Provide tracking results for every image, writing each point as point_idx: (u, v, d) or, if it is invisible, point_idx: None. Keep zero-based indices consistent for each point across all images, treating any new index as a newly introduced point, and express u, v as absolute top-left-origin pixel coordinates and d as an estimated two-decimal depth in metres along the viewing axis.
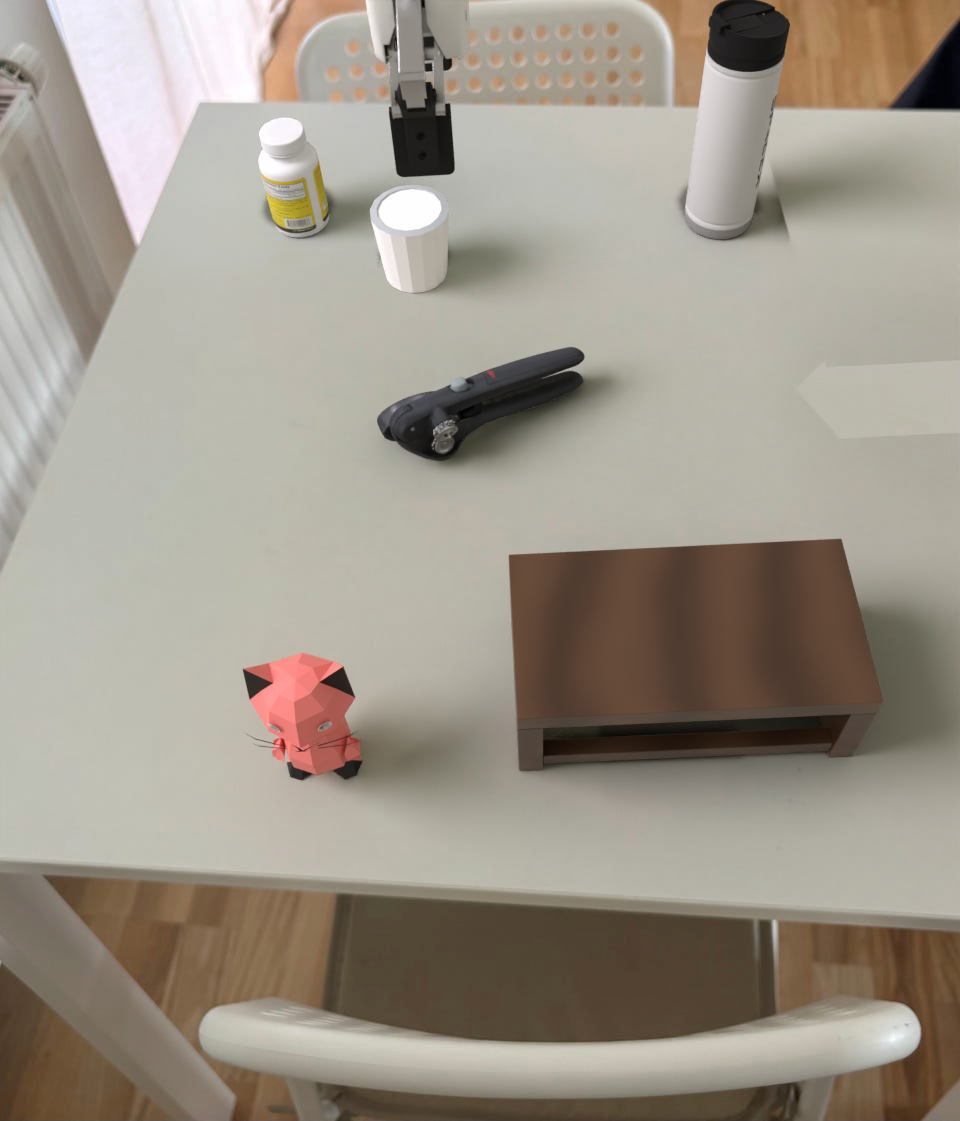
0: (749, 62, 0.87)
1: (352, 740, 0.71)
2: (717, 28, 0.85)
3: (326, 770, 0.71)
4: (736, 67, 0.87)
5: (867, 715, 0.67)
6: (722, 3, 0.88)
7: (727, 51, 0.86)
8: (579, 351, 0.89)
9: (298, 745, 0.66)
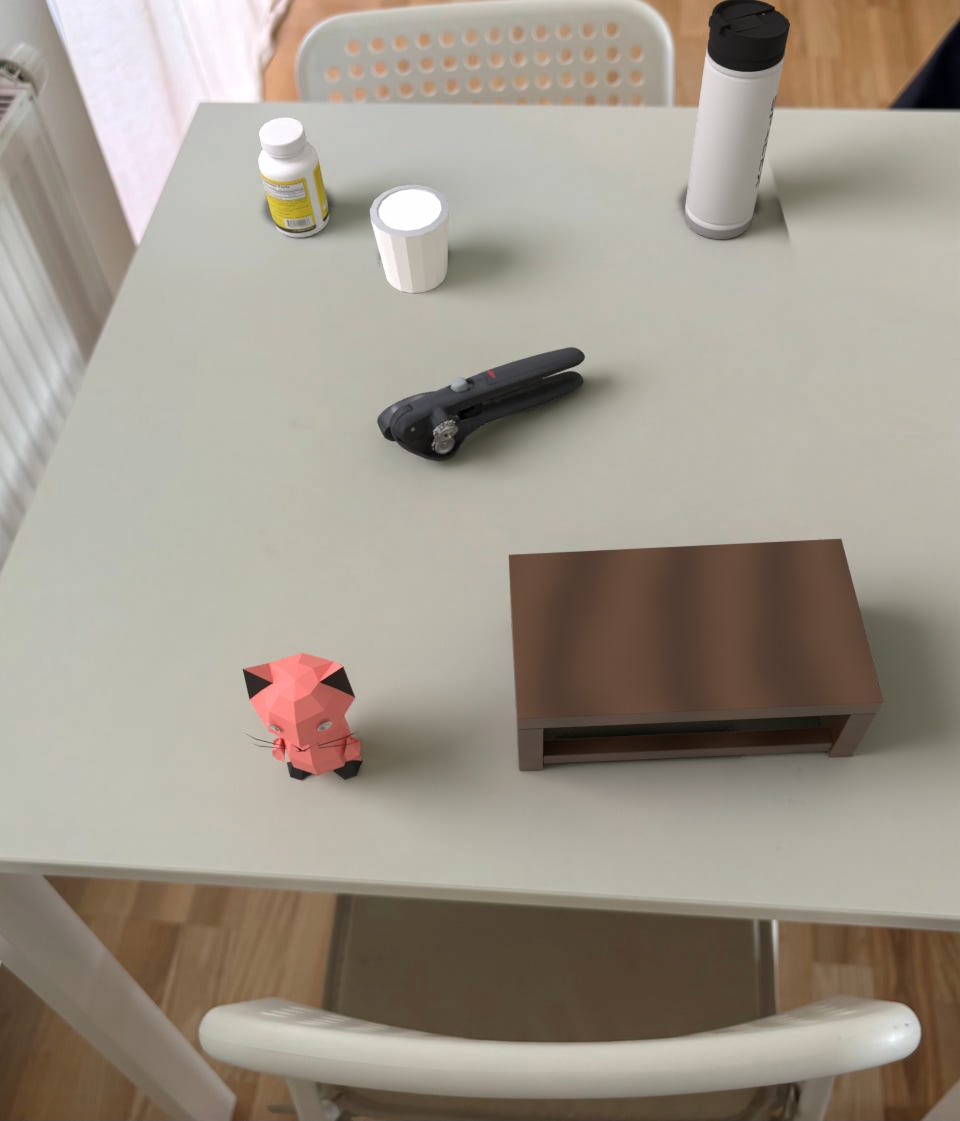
0: (749, 62, 0.87)
1: (352, 740, 0.71)
2: (717, 28, 0.85)
3: (326, 770, 0.71)
4: (736, 67, 0.87)
5: (867, 715, 0.67)
6: (722, 3, 0.88)
7: (727, 51, 0.86)
8: (579, 351, 0.89)
9: (298, 745, 0.66)
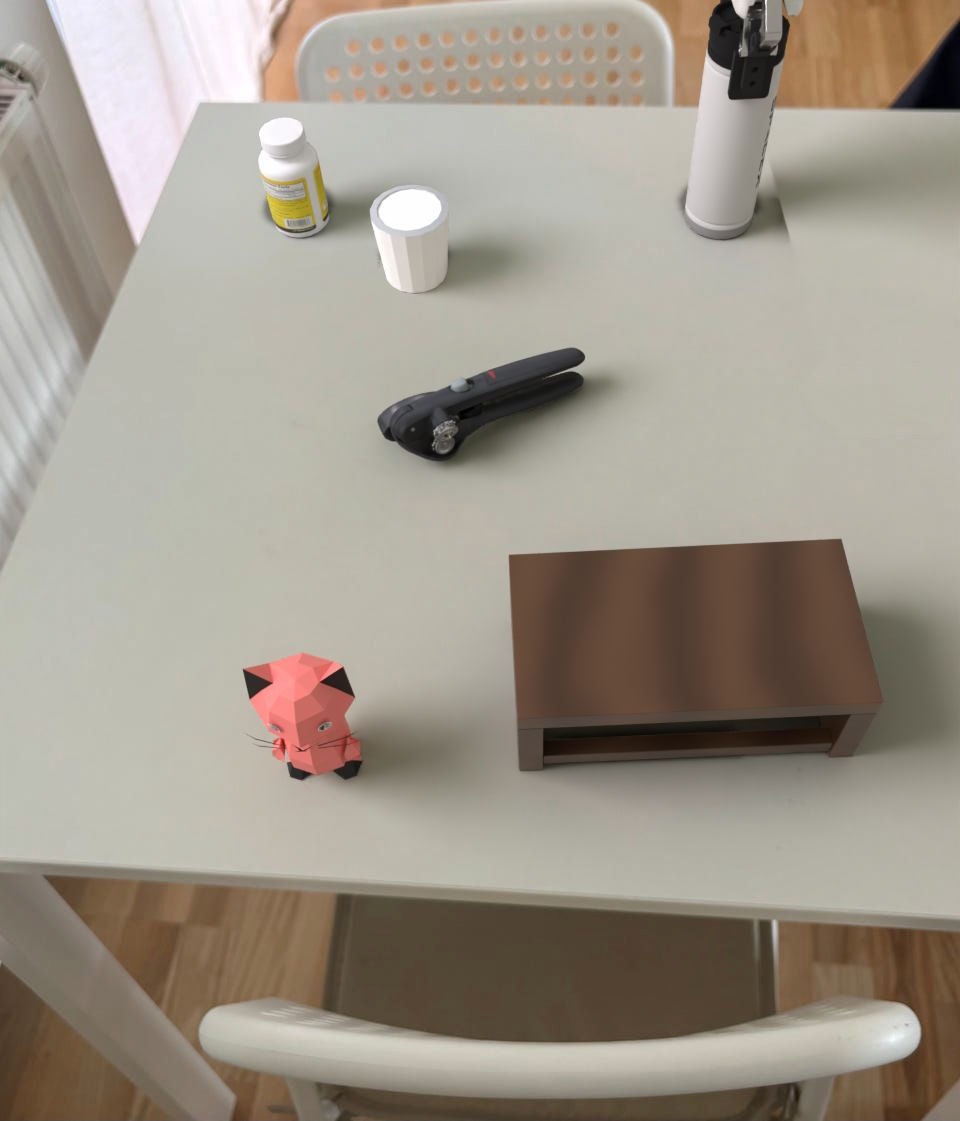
0: None
1: (352, 740, 0.71)
2: (717, 29, 0.85)
3: (326, 770, 0.71)
4: None
5: (867, 715, 0.67)
6: (722, 3, 0.88)
7: (727, 52, 0.86)
8: (580, 352, 0.89)
9: (298, 745, 0.66)
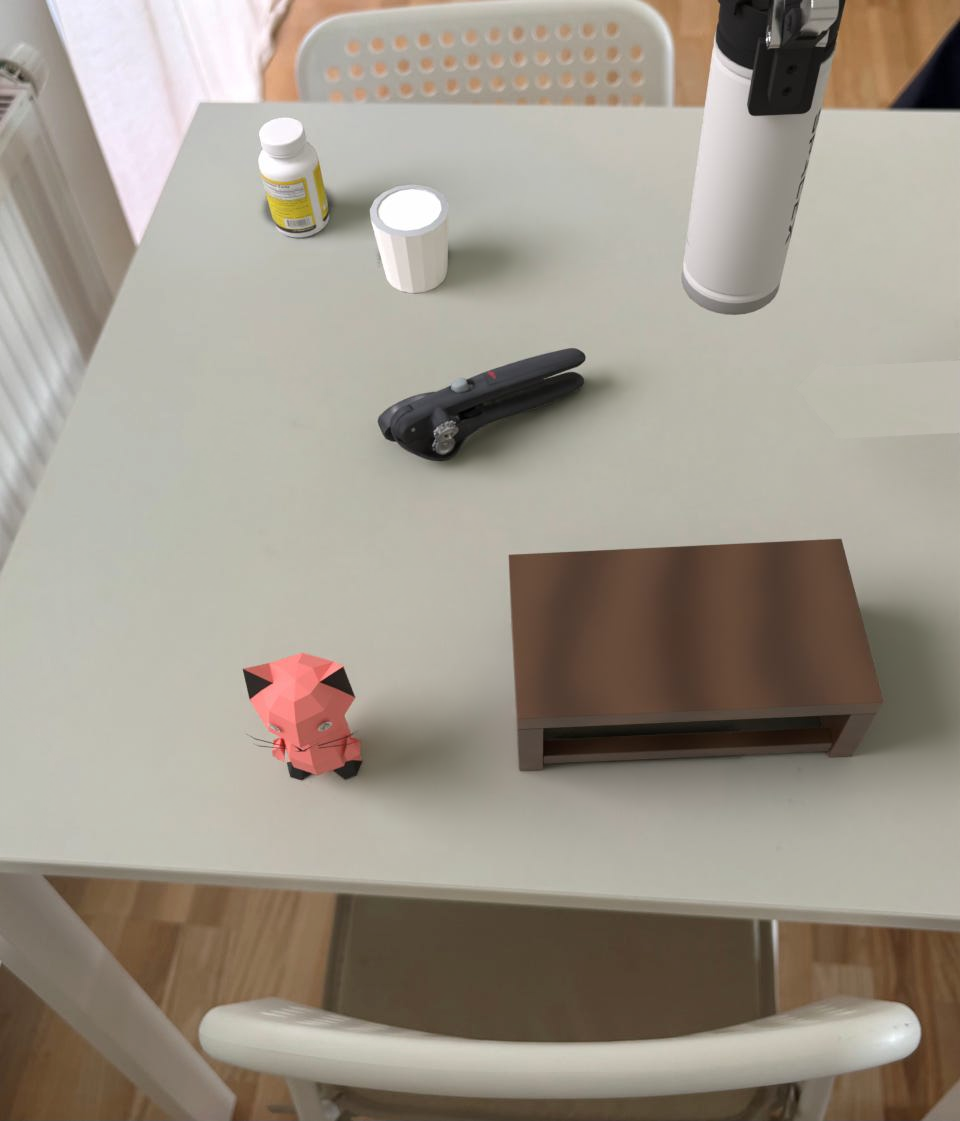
0: None
1: (352, 740, 0.71)
2: (731, 4, 0.54)
3: (326, 770, 0.71)
4: None
5: (867, 715, 0.67)
6: None
7: (746, 41, 0.55)
8: (580, 352, 0.89)
9: (298, 745, 0.66)
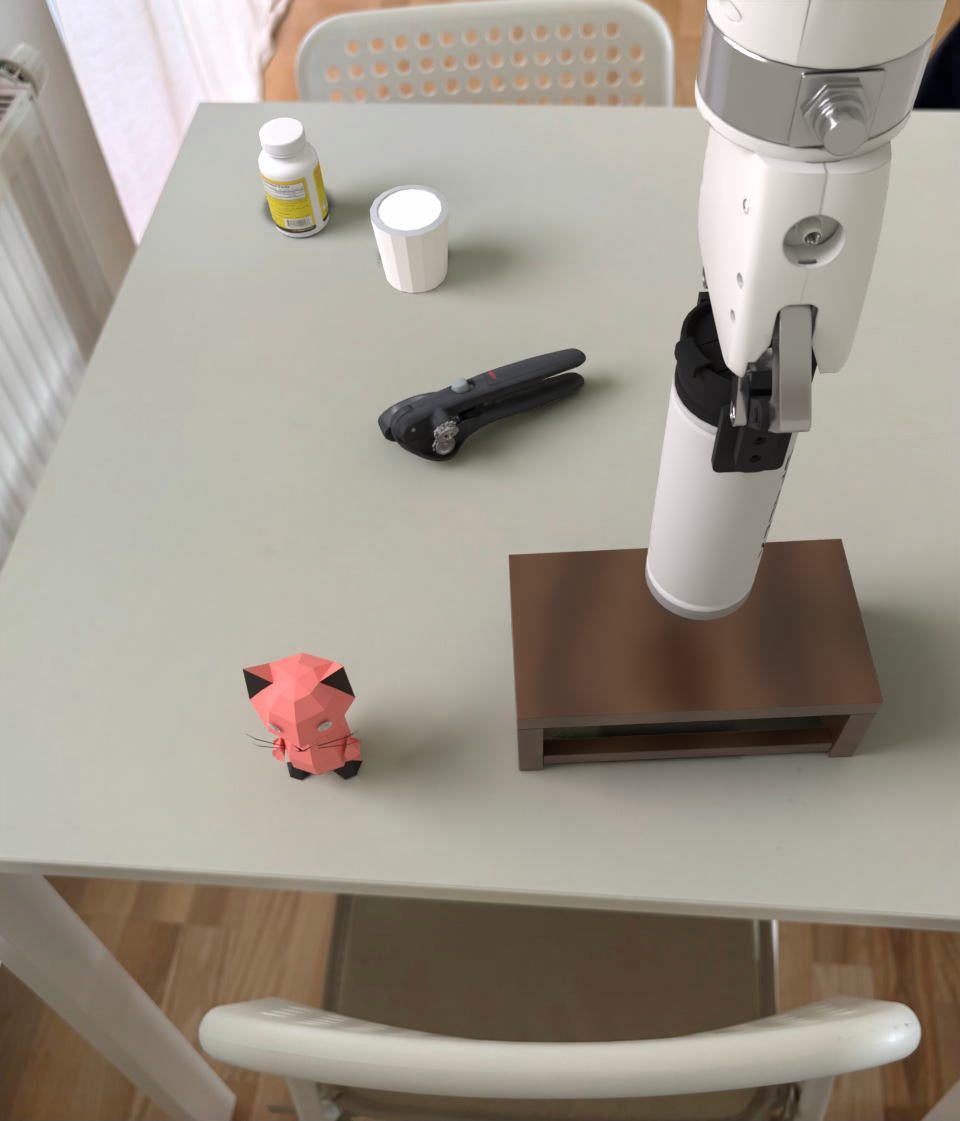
0: None
1: (352, 740, 0.71)
2: (689, 368, 0.48)
3: (326, 770, 0.71)
4: None
5: (867, 715, 0.67)
6: (699, 308, 0.50)
7: (707, 402, 0.49)
8: (580, 352, 0.89)
9: (298, 745, 0.66)
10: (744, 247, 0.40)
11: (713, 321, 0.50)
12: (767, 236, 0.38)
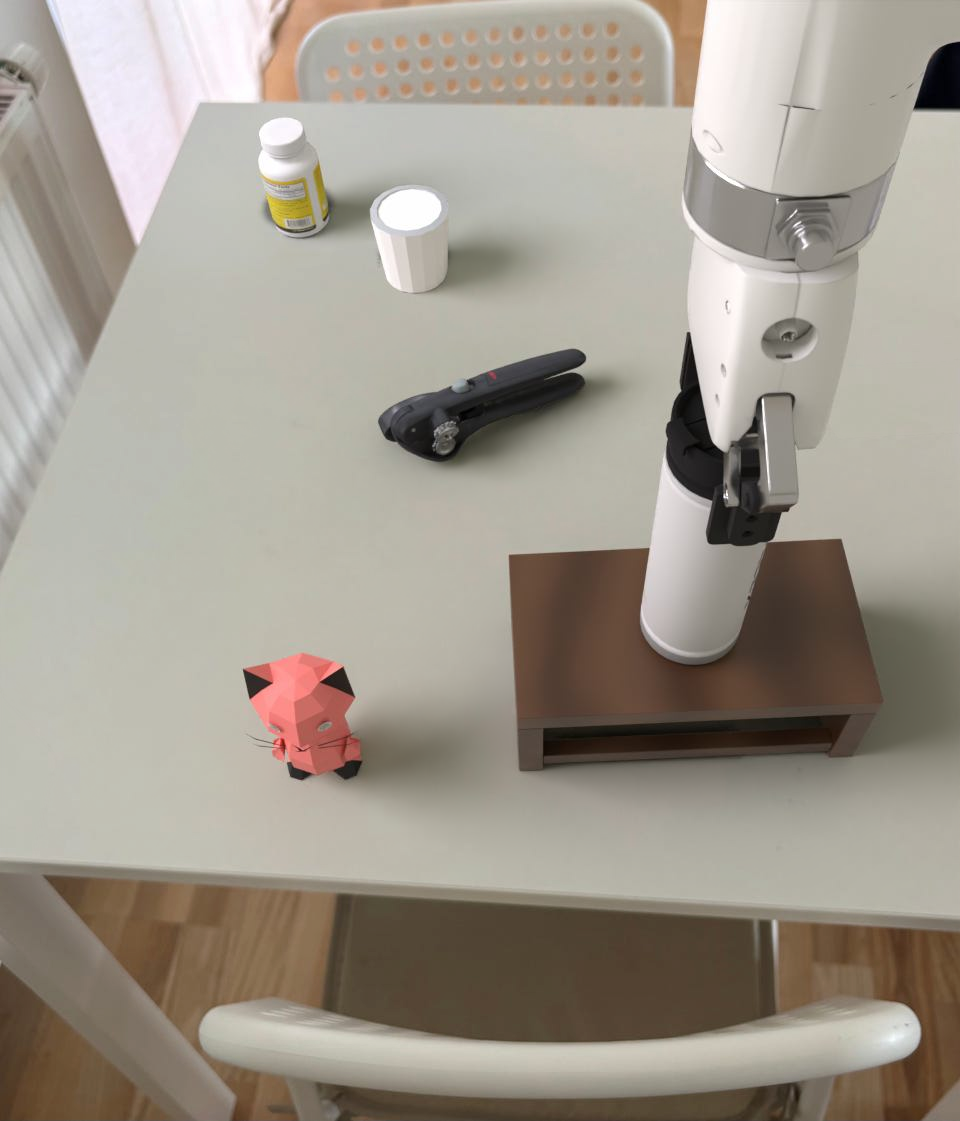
0: None
1: (352, 740, 0.71)
2: (679, 446, 0.52)
3: (326, 770, 0.71)
4: (711, 497, 0.54)
5: (867, 715, 0.67)
6: (689, 388, 0.55)
7: (696, 476, 0.53)
8: (581, 353, 0.89)
9: (298, 745, 0.66)
10: (727, 342, 0.43)
11: (701, 401, 0.55)
12: (747, 335, 0.42)
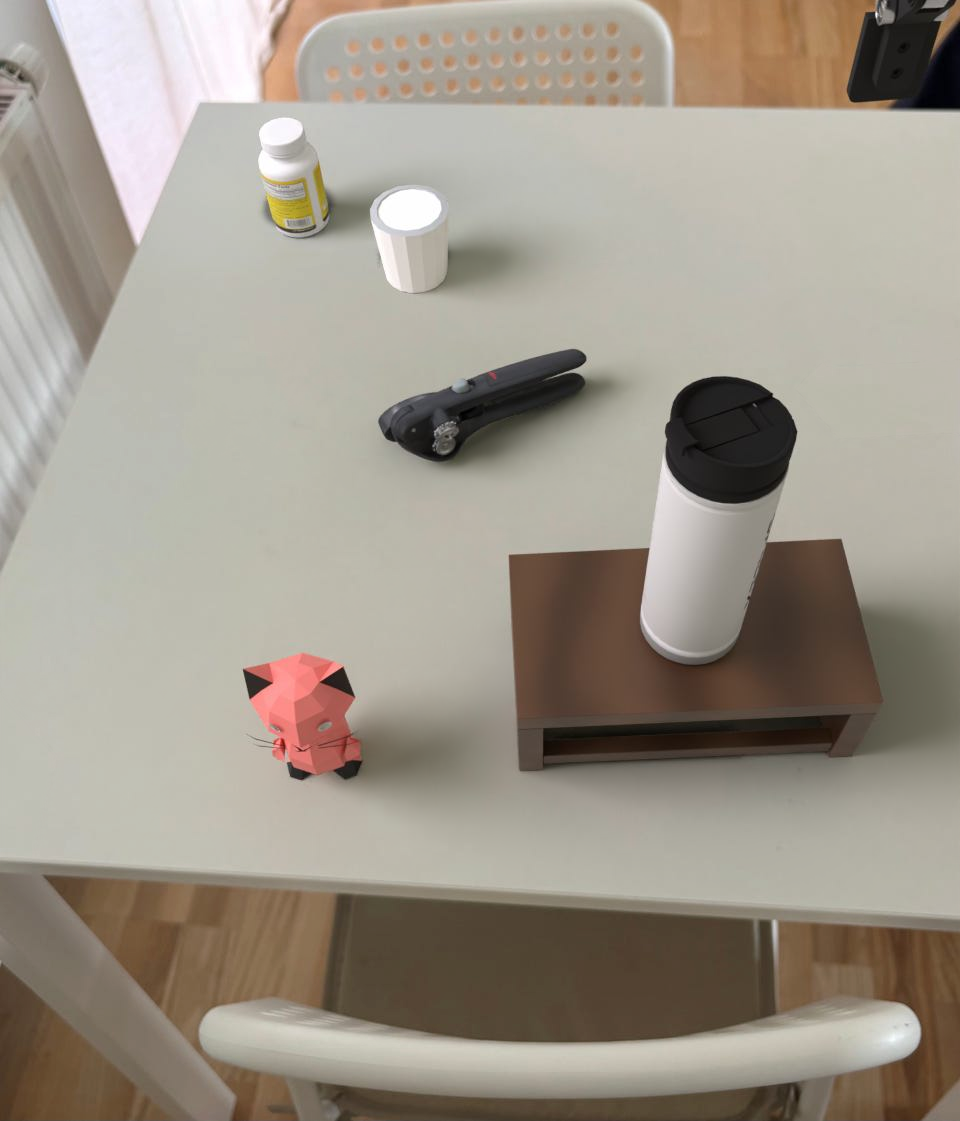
0: (730, 492, 0.53)
1: (352, 740, 0.71)
2: (678, 446, 0.52)
3: (326, 770, 0.71)
4: (710, 497, 0.54)
5: (867, 715, 0.67)
6: (688, 388, 0.55)
7: (695, 476, 0.53)
8: (581, 353, 0.89)
9: (298, 745, 0.66)
10: None
11: (700, 401, 0.55)
12: None
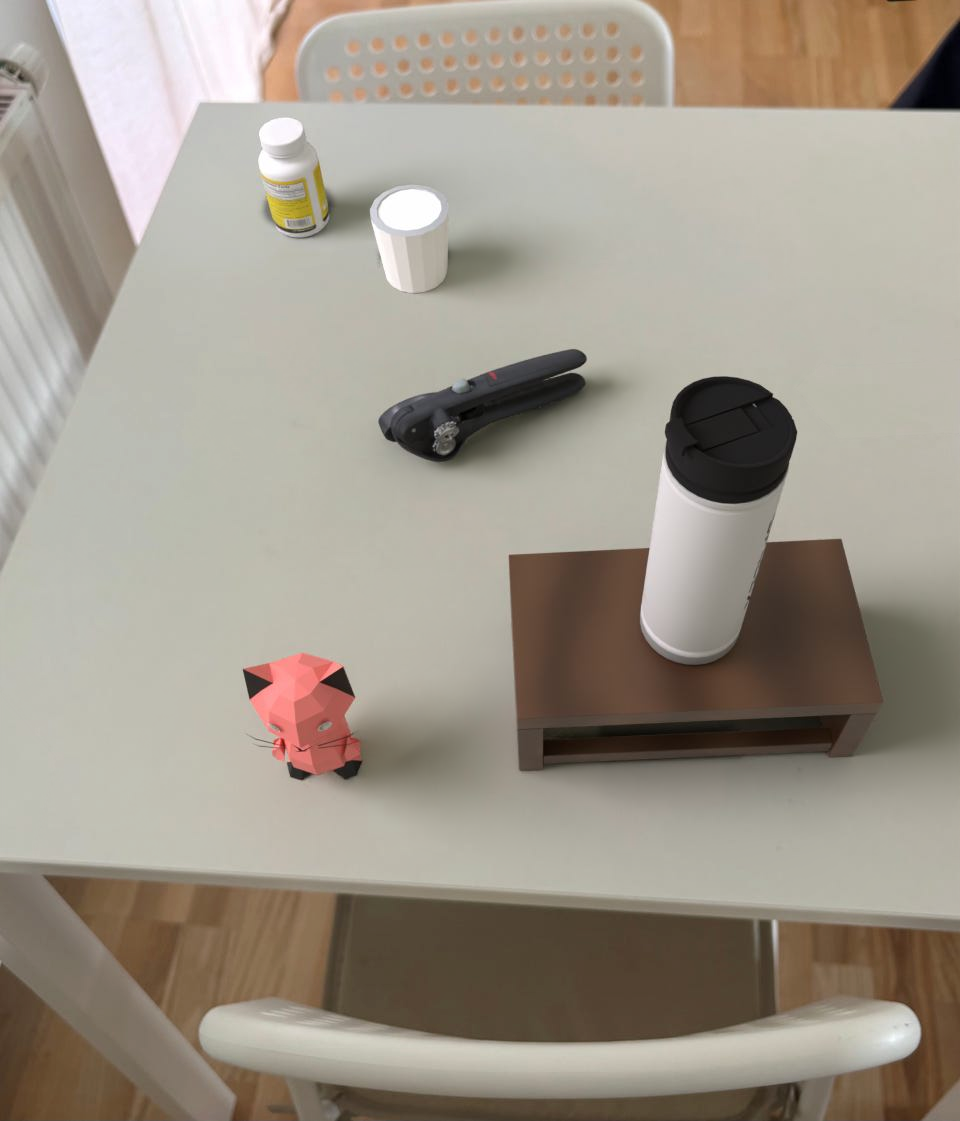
0: (730, 492, 0.53)
1: (352, 740, 0.71)
2: (678, 447, 0.52)
3: (326, 770, 0.71)
4: (710, 497, 0.54)
5: (867, 715, 0.67)
6: (688, 389, 0.55)
7: (695, 476, 0.53)
8: (581, 353, 0.89)
9: (298, 745, 0.66)
10: None
11: (700, 401, 0.55)
12: None
